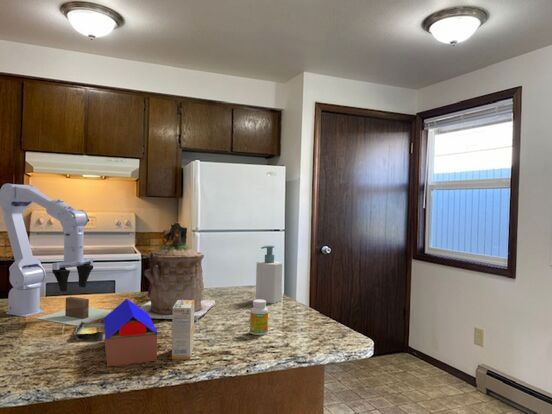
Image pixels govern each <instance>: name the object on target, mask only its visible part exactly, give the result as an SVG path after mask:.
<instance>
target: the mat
mask: <svg viewBox="0 0 552 414" xmlns="http://www.w3.org/2000/svg"><path fill="white" fill-rule="evenodd" d="M112 311H113V310H109V309H108V310H107V309H102V308H96V307H90V306H89V314H88V318H85V319H80V318H74V317H68V316H65V309H64V310H59V311H57V312H53V313H49V314H46V315H42V316H38V317H36V318H35V319H36V320H40V321H45V322H51V323H57V324H63V325H70V326H74V327H79V324H80V322H82V321H83V322H86V323H87V322H88V323H91V322H95V321H98V320H100V319H101V320H102V319H104V318H105V317H106V316H107V315H108V314H109V313H110V312H112Z"/></svg>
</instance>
